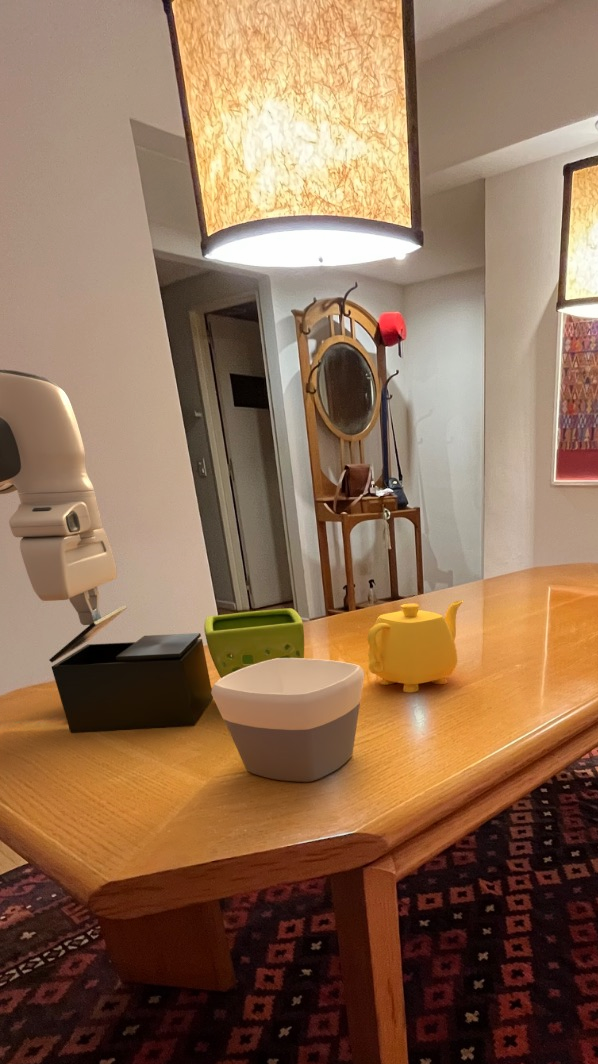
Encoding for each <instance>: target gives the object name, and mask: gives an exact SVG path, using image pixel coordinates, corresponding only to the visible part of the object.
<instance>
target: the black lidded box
mask: <svg viewBox="0 0 598 1064" xmlns="http://www.w3.org/2000/svg"><path fill="white" fill-rule="evenodd" d="M201 637H202V635H201V632H195V633H175V634H174V633H173V634H171V633H170V634H152V635H143V636H142V637H140V638H139V639H137V641H130V642H108V643H90V644H89V643H88V644H86V645H84V646H82V647H81V648H79V649H77V650H76V651H74V652H73V653H71V654H70V655H68V656H66V657H65V658H63V659H61V660H60V661H58V662H57V663H55V664H53V665H52V666H51V671H52V675H53V677H54V681H55V685H56V688H57V691H58V694H59V698H60V701H61V704H62V708H63V711H64V715H65V718H66V722H67V726H68V729H69V732H70V734H74V733H75V734H76V733H77V734H78V733H93V732H110V731H111V732H113V731H128V730H145V729H146V730H147V729H160V728H161V729H162V728H176V727H177V728H178V727H179V728H180V727H195V725H196V724H197V722H199V720H200V718H201V717H202V715H203V714H204V713H205V711H206V709H207V708H208V707H209V705H210V703H211V702H212V701H213V700H214V698H213V696H212V694H211V691H212V684H211V680H210V675H209V669H208V663H207V658H206V651H205V647H204V642H203V638H201Z"/></svg>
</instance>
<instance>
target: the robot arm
mask: <svg viewBox="0 0 598 1064" xmlns="http://www.w3.org/2000/svg"><path fill="white" fill-rule="evenodd" d="M16 491H17V494H18V498H19V502H20V503H19V504H18V507H17V510H16V511H15V512H14V513H13V514H12V516H10V518H9V520H8V523H9V528H10V531H11V534H12V536H14V537H15V538H21V539H20V540H19V550H20V555H21V558H22V560H23V564H24V567H25V570H26V573H27V576H28V579H29V582H30V584H31V587H32V589H33V591H34V593H35V594H36V596H37V597H38V599H40V601H42V602H55V601H57V602H58V601H66V600H69V602H70V604H71V605H72V607H73V608H74V610H75V612H76V613H77V615H78V619H79V623H80V624H81V625H83V626H89V625H91V624H92V623H93V622H95V621H96V620H98V619H100V618H102V616H101V612H100V609H99V608H100V591H99V588H98V587H100V586H102V585H104V584H106V583H109V582H111V581H113V580H115V579H117V577H118V567H117V563H116V560H115V556H114V553H113V549H112V547H111V544H110V540H109V537H108V535H107V531H106V530H105V529H104V524H103V520H102V517H101V512H100V509H99V504H98V500H97V496H96V491H95V488H94V485H93V483H92V481H91V479H90V477H89V475H88V472H87V468H86V450H85V446H84V442H83V439H82V435H81V431H80V428H79V424H78V421H77V418H76V414H75V412H74V409H73V406H72V404H71V401H70V399H69V397H68V395H67V394H66V393H65V391H64V389H62V388H61V387H60V386H59V385H57V383H55V382H54V381H52V380H50V379H48V378H46V377H44V376H39V375H36V374H34V373H29V372H24V371H19V370H13V369H0V495H5V494H11V493H13V492H16Z"/></svg>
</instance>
